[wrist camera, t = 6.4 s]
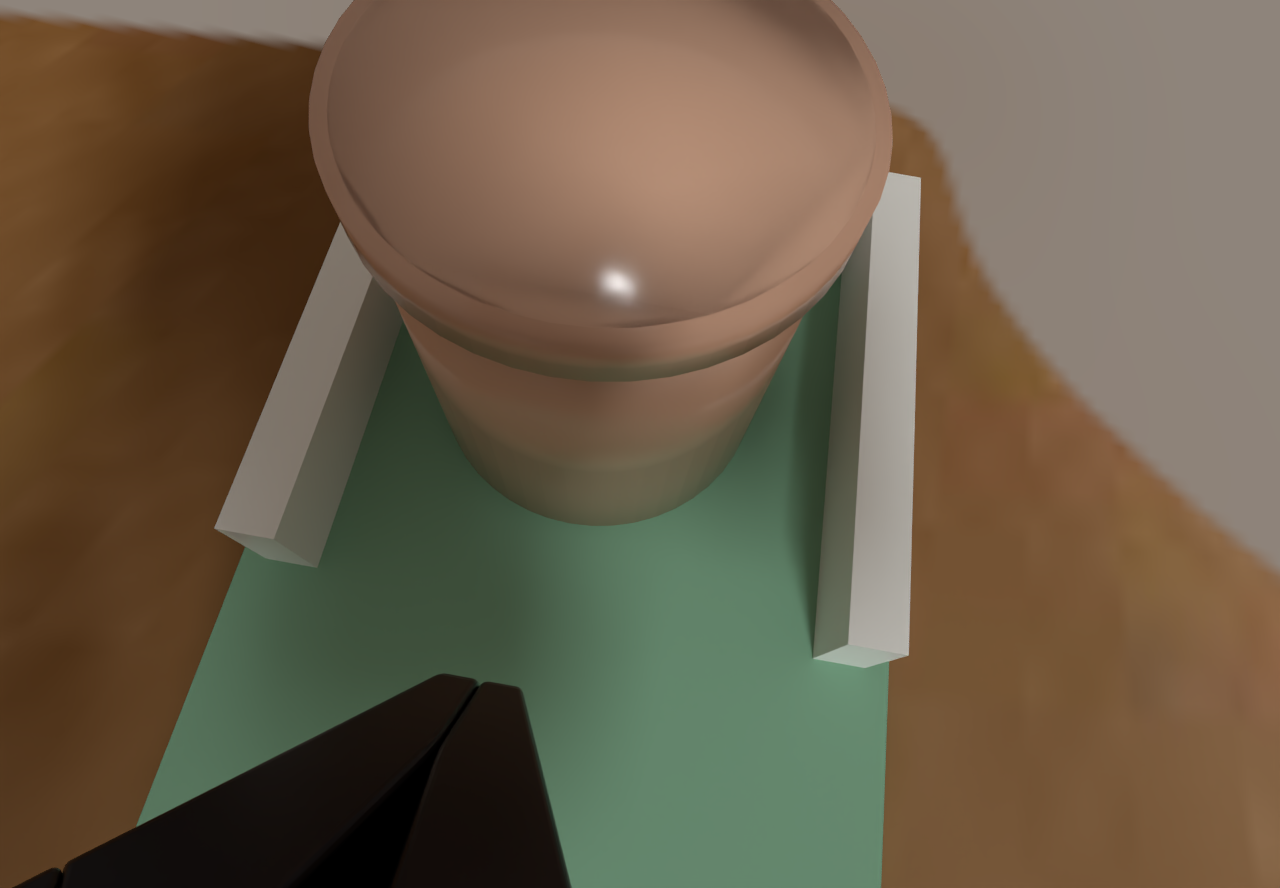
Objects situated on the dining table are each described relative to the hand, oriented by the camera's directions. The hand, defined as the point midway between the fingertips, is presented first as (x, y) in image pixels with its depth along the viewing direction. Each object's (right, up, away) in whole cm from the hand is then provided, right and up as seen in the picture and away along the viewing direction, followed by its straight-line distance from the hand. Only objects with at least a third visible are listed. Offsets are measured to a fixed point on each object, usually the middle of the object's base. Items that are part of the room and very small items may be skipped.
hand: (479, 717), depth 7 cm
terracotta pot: (+1, +4, +12) cm, 13 cm away
